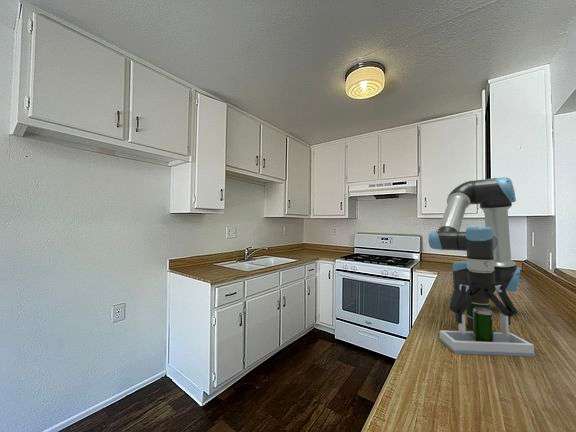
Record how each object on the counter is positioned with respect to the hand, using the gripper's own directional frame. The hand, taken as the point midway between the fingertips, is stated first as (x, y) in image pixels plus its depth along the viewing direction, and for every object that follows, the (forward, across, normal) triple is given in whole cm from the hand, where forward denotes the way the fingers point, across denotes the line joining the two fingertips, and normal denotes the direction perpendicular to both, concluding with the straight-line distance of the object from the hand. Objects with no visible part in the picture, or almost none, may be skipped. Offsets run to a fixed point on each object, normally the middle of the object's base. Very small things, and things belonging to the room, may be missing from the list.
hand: (483, 333), depth 85 cm
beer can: (+4, 0, 0) cm, 4 cm away
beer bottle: (+5, +9, +17) cm, 20 cm away
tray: (+5, 0, 0) cm, 5 cm away
